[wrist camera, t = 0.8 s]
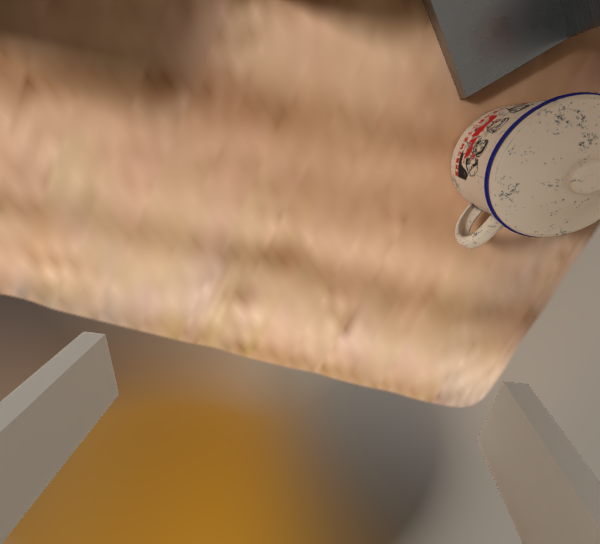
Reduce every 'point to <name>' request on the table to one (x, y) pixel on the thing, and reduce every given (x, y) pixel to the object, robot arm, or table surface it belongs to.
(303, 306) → the table surface
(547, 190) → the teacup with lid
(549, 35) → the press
